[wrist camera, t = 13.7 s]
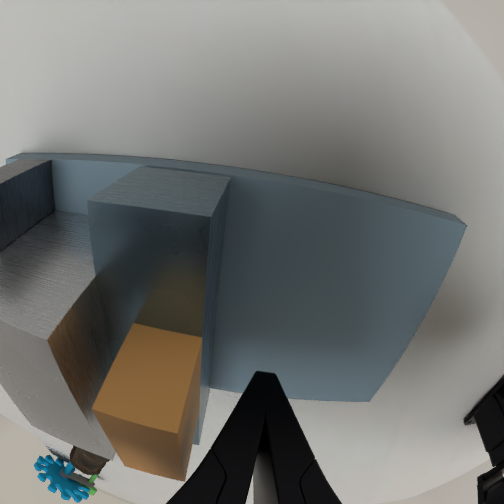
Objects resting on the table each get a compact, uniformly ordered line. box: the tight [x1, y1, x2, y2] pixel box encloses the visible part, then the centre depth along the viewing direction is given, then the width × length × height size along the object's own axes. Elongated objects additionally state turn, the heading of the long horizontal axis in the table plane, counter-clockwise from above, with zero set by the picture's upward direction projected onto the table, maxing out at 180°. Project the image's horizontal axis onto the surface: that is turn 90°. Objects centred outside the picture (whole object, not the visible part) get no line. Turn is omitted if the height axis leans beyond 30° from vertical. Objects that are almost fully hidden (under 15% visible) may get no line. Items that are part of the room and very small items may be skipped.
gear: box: [34, 455, 98, 503], centre depth 30 cm, size 11×6×10 cm
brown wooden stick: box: [70, 445, 110, 475], centre depth 20 cm, size 19×4×5 cm, turn 144°
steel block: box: [0, 210, 116, 460], centre depth 9 cm, size 4×7×6 cm, turn 172°
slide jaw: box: [87, 167, 231, 482], centre depth 9 cm, size 3×11×6 cm, turn 172°
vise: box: [0, 153, 467, 402], centre depth 11 cm, size 19×11×4 cm, turn 82°
